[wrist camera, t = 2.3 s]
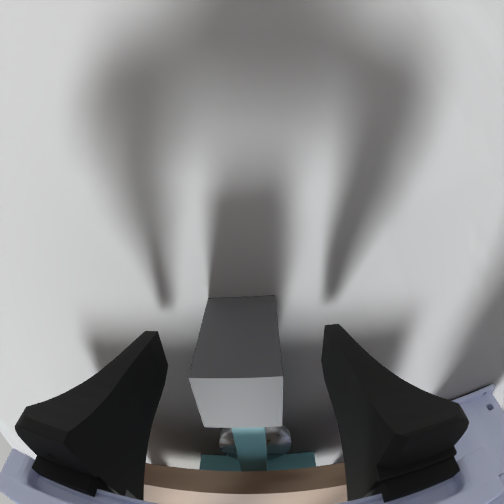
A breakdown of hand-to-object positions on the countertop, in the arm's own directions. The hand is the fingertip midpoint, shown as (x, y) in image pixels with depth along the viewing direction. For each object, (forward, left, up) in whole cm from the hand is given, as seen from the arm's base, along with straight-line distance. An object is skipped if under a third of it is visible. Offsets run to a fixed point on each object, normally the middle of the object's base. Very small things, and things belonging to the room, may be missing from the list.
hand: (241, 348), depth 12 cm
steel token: (0, +11, -2) cm, 11 cm away
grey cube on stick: (0, +7, -2) cm, 7 cm away
